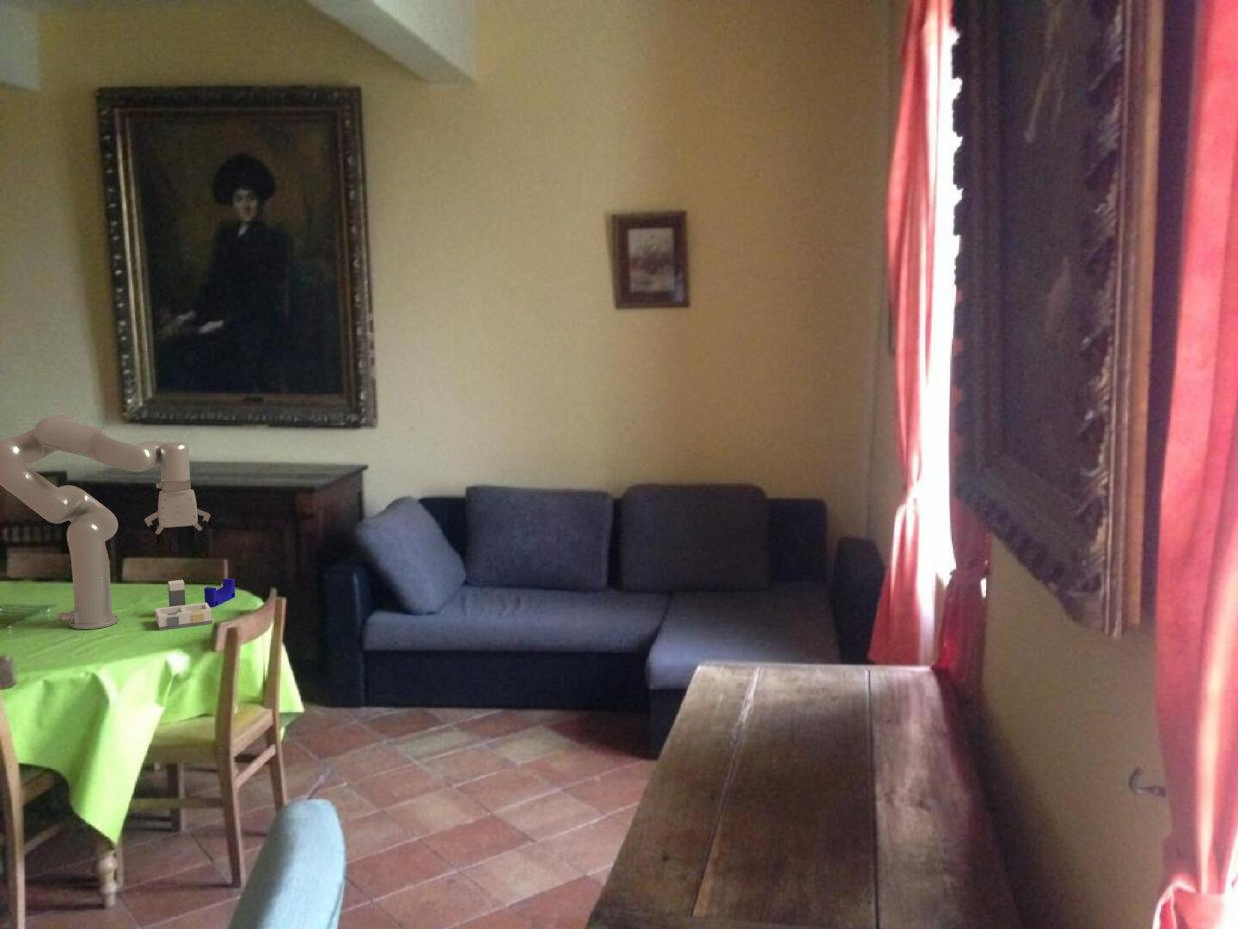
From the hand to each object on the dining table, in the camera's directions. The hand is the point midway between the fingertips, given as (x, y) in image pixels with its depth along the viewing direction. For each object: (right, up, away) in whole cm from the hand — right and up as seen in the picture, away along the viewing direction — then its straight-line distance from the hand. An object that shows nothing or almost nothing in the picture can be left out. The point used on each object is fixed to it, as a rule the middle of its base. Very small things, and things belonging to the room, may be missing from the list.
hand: (179, 545), depth 303 cm
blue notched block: (+2, -20, +24) cm, 31 cm away
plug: (-4, -21, +10) cm, 24 cm away
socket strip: (0, -23, +2) cm, 23 cm away
